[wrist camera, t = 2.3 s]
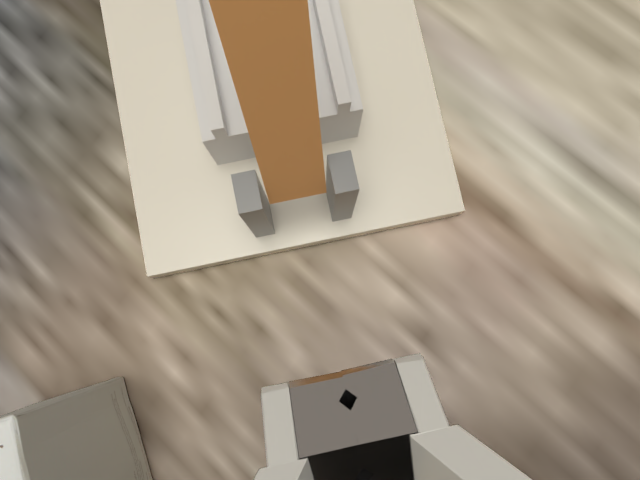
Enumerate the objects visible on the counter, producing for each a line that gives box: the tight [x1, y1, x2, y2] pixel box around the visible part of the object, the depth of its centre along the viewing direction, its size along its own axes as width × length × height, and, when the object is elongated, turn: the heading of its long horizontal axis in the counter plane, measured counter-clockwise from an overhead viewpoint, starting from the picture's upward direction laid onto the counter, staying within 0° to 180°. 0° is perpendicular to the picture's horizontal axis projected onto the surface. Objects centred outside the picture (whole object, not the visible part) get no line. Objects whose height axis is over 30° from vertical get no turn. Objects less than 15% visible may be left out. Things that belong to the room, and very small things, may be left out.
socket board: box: [100, 0, 465, 278], centre depth 35 cm, size 20×22×11 cm
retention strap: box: [209, 0, 327, 204], centre depth 24 cm, size 18×3×1 cm
